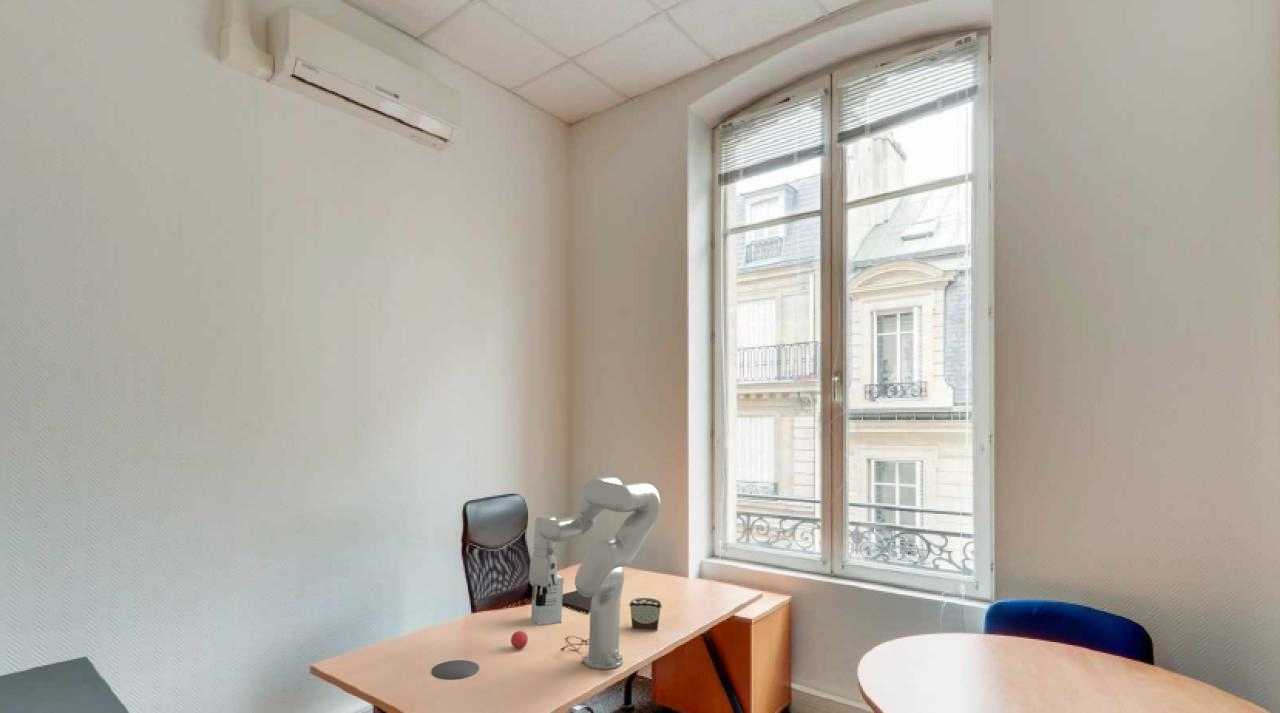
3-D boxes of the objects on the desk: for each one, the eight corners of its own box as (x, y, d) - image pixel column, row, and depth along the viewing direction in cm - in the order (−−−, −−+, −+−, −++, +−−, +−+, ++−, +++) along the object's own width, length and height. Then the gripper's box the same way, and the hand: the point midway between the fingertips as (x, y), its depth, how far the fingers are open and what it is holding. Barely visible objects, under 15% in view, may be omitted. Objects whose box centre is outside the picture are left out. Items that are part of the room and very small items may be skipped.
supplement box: (530, 618, 246) (532, 573, 247) (553, 615, 250) (555, 571, 251) (538, 626, 237) (540, 579, 239) (562, 623, 241) (564, 577, 243)
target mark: (485, 673, 193) (485, 673, 193) (438, 682, 186) (438, 682, 186) (471, 657, 205) (471, 657, 205) (426, 665, 198) (426, 665, 198)
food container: (662, 625, 242) (663, 598, 243) (661, 631, 236) (662, 603, 237) (629, 623, 243) (630, 596, 244) (628, 629, 237) (629, 601, 238)
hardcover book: (577, 595, 280) (577, 590, 280) (616, 607, 265) (616, 601, 265) (549, 603, 267) (549, 597, 268) (588, 616, 252) (588, 610, 253)
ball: (529, 649, 214) (530, 632, 214) (514, 652, 211) (514, 635, 211) (523, 644, 218) (524, 627, 219) (508, 646, 216) (509, 630, 216)
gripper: (566, 554, 223) (563, 608, 222) (537, 546, 232) (534, 597, 231) (550, 557, 217) (546, 613, 216) (521, 549, 226) (517, 602, 225)
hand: (540, 605), depth 223 cm, fingers closed
